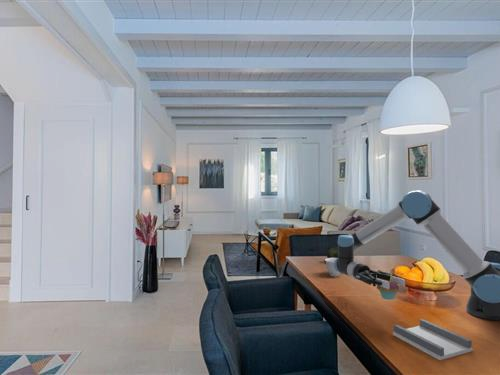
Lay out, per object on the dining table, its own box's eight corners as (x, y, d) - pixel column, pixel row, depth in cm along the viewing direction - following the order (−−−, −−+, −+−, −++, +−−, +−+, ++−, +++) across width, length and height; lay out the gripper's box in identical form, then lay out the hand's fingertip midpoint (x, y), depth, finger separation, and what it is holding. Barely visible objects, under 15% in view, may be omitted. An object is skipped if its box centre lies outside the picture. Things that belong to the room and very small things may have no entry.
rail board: (393, 334, 127) (392, 325, 127) (423, 327, 133) (423, 318, 133) (439, 360, 108) (439, 349, 108) (472, 350, 114) (472, 340, 114)
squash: (321, 254, 248) (329, 241, 239) (336, 253, 254) (345, 240, 245) (329, 270, 238) (339, 257, 229) (345, 268, 245) (355, 256, 236)
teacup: (341, 271, 219) (341, 256, 219) (346, 278, 204) (345, 262, 204) (323, 271, 220) (323, 256, 220) (326, 277, 205) (326, 261, 205)
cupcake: (393, 294, 143) (392, 267, 143) (402, 301, 135) (402, 272, 135) (373, 294, 143) (373, 267, 143) (382, 301, 134) (382, 272, 134)
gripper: (376, 276, 159) (415, 290, 138) (341, 281, 152) (377, 297, 131) (375, 261, 159) (415, 272, 138) (341, 265, 152) (376, 278, 131)
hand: (396, 284), depth 134 cm, fingers closed on cupcake, 8 cm apart
